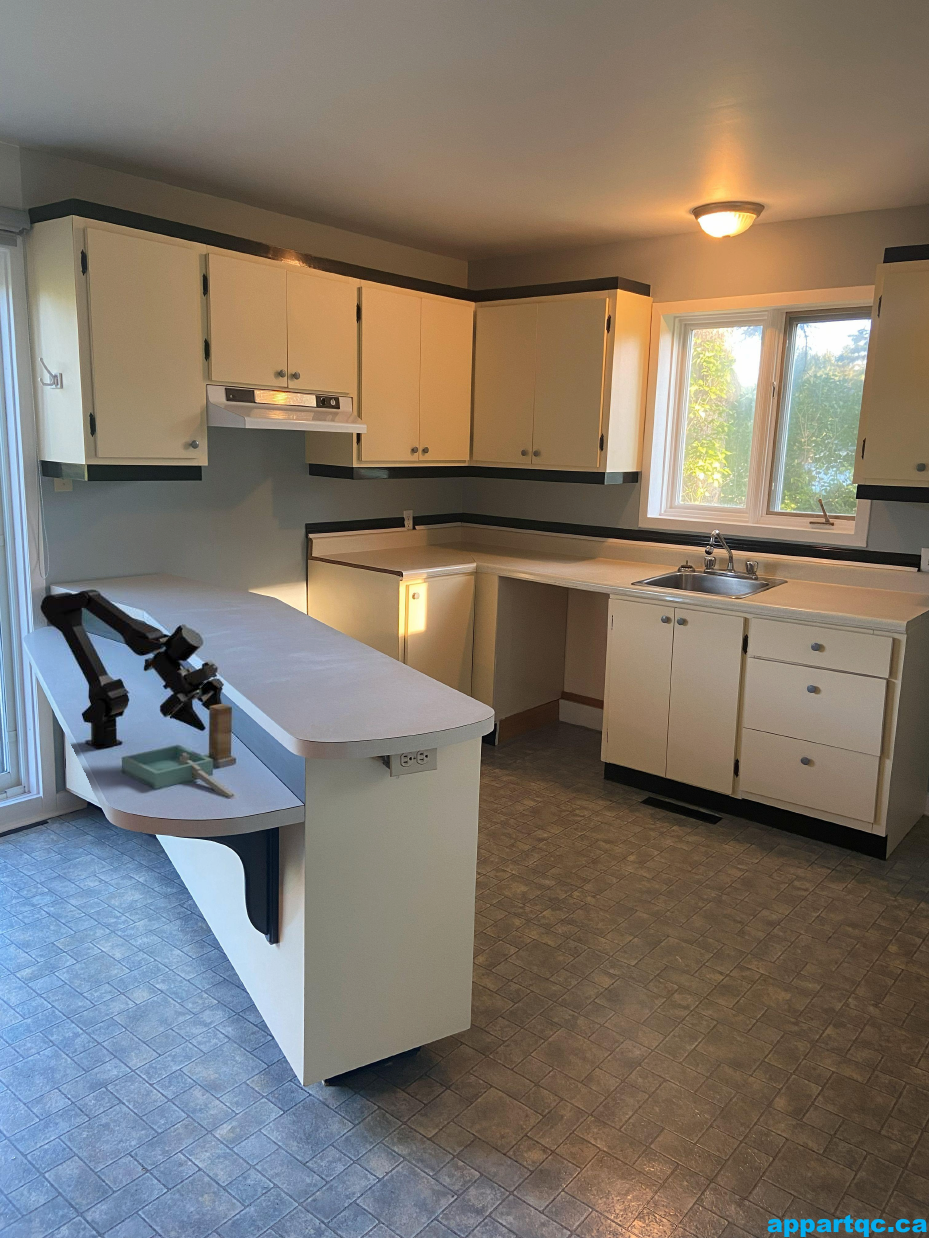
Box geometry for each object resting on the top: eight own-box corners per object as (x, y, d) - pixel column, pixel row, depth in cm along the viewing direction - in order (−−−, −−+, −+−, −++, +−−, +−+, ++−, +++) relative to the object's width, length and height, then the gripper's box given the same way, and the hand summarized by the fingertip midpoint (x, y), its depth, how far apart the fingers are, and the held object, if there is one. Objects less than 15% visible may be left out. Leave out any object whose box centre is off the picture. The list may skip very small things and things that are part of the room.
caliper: (178, 778, 198) (178, 751, 197) (182, 777, 198) (182, 750, 198) (233, 802, 185) (233, 774, 184) (237, 801, 186) (237, 772, 185)
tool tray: (121, 772, 197) (121, 757, 196) (177, 759, 207) (177, 744, 207) (156, 789, 188) (156, 773, 187) (212, 774, 198) (213, 759, 198)
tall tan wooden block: (203, 761, 207) (204, 705, 205) (219, 757, 210) (220, 702, 208) (219, 767, 203) (220, 711, 201) (235, 763, 206) (236, 707, 204)
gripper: (171, 659, 196) (215, 713, 194) (216, 645, 213) (257, 694, 212) (140, 690, 199) (183, 743, 198) (188, 673, 217) (228, 722, 215)
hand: (215, 724), depth 206 cm, fingers open, 9 cm apart
